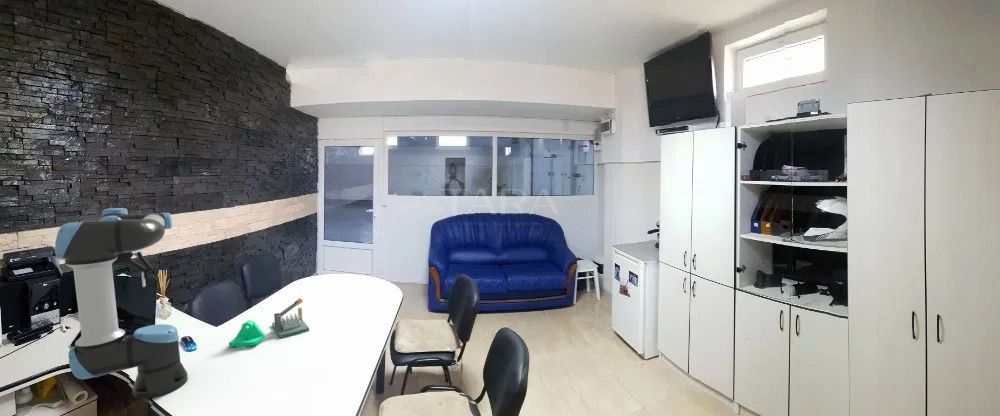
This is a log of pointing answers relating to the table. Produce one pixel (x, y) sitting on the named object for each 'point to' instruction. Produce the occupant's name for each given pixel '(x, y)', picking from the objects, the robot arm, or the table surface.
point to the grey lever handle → (290, 307)
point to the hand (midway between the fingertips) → (122, 289)
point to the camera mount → (247, 335)
